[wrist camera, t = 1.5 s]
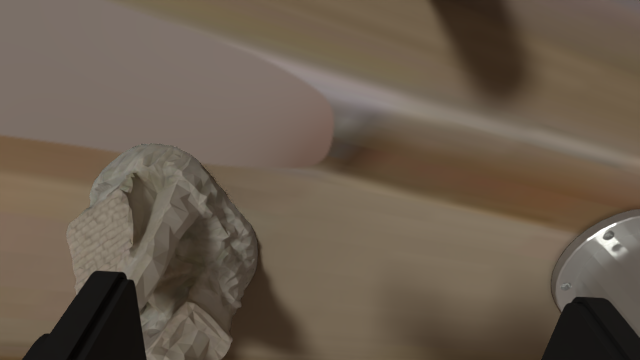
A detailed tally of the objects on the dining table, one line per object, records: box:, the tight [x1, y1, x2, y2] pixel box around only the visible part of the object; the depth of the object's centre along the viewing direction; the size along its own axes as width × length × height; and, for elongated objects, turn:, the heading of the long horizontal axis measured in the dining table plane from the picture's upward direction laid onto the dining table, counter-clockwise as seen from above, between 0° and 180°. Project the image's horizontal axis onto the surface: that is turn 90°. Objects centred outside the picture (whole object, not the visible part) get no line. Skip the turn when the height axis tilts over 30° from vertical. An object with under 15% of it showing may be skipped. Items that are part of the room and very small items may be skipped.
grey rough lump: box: [66, 143, 258, 360], centre depth 31 cm, size 16×16×15 cm
